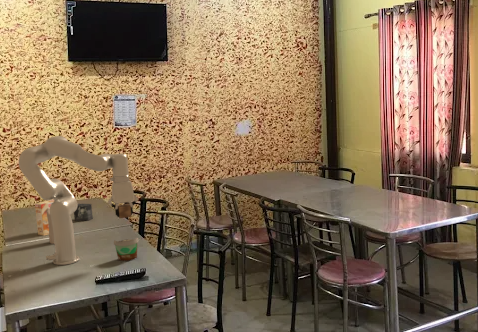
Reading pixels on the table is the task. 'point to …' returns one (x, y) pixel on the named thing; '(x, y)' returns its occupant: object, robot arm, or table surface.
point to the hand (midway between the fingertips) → (124, 215)
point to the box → (83, 212)
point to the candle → (50, 227)
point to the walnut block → (124, 211)
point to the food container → (126, 249)
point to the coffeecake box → (42, 217)
